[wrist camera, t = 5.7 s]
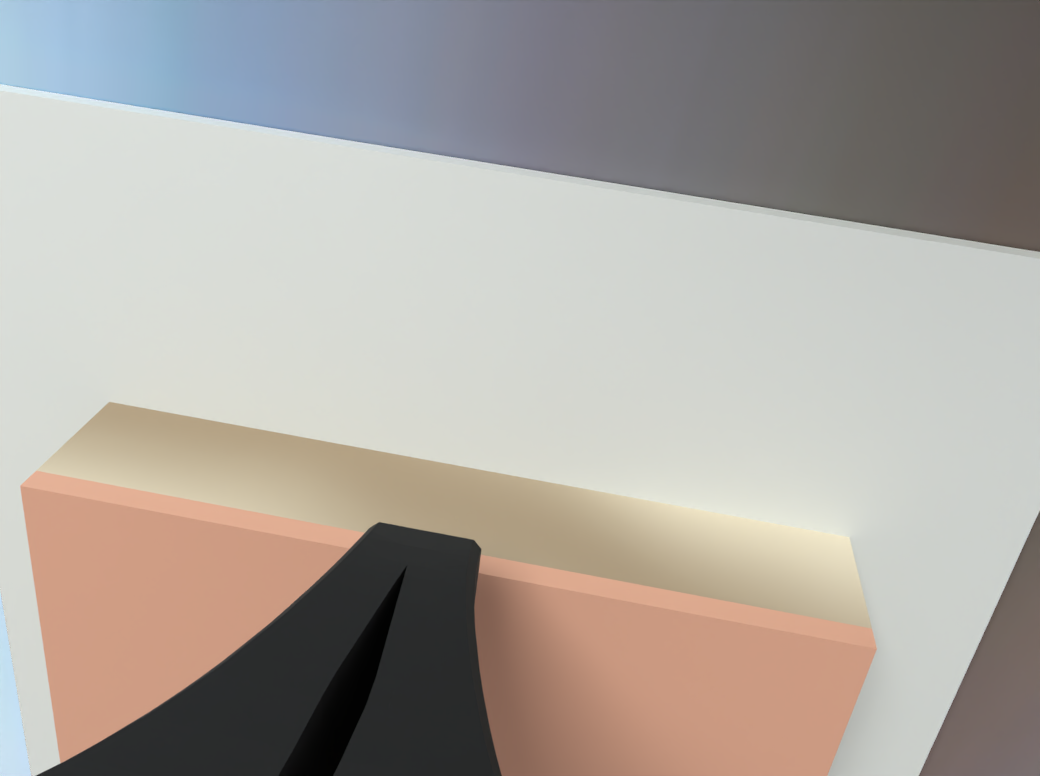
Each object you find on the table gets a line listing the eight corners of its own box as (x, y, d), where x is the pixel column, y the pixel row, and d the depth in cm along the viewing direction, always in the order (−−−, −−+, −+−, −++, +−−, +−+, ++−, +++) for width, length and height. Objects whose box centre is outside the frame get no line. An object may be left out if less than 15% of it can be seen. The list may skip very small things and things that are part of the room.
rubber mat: (1137, 267, 13) (1146, 276, 13) (831, 947, 20) (833, 962, 20) (-71, 73, 14) (-86, 77, 14) (42, 781, 22) (34, 792, 21)
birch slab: (19, 485, 14) (72, 852, 18) (877, 648, 13) (740, 997, 17) (108, 401, 16) (139, 744, 20) (849, 537, 15) (733, 867, 19)
